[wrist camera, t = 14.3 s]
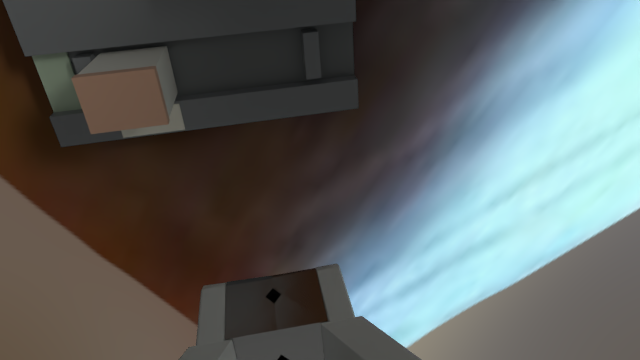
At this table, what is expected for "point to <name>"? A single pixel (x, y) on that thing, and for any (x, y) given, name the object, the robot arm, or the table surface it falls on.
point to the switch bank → (198, 57)
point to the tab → (127, 89)
